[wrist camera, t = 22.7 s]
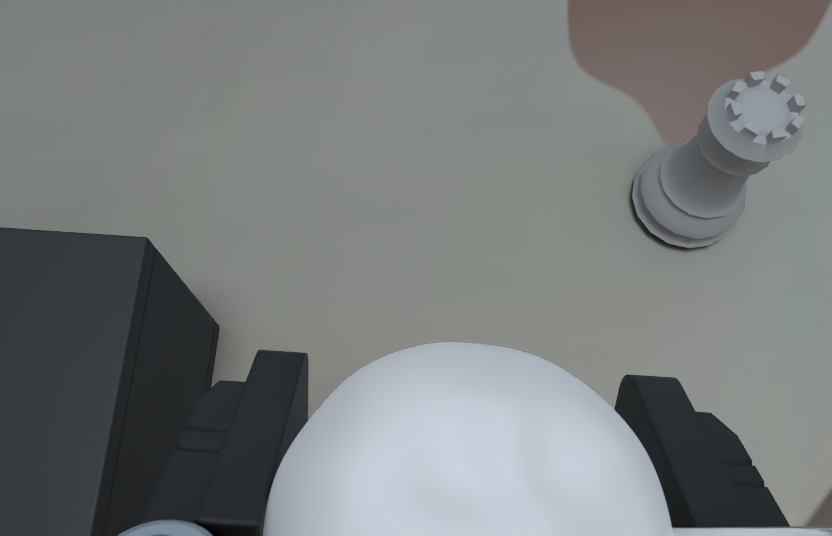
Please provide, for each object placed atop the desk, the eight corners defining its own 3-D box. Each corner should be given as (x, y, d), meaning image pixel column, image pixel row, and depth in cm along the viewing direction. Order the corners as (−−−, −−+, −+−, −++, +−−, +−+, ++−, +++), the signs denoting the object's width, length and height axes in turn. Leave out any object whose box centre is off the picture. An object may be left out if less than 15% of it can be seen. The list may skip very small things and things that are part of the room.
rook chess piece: (738, 254, 32) (846, 167, 24) (632, 250, 32) (707, 162, 24) (726, 158, 33) (825, 49, 26) (625, 154, 33) (694, 43, 26)
